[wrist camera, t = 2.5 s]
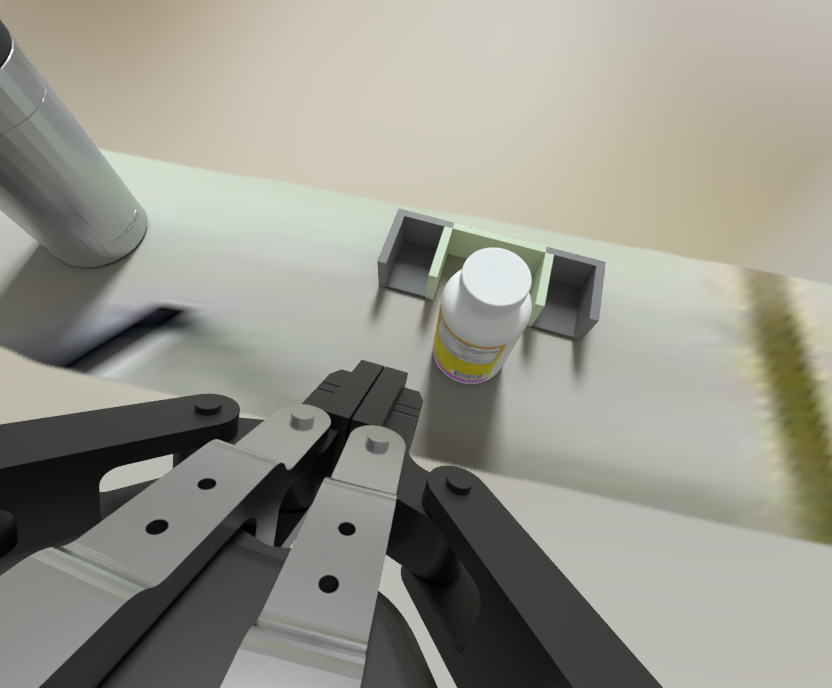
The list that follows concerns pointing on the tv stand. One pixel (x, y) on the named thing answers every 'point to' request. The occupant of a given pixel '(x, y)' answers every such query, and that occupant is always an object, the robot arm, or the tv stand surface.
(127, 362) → the tv stand surface
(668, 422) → the tv stand surface
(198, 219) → the tv stand surface
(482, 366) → the supplement bottle
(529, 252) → the bay rack
